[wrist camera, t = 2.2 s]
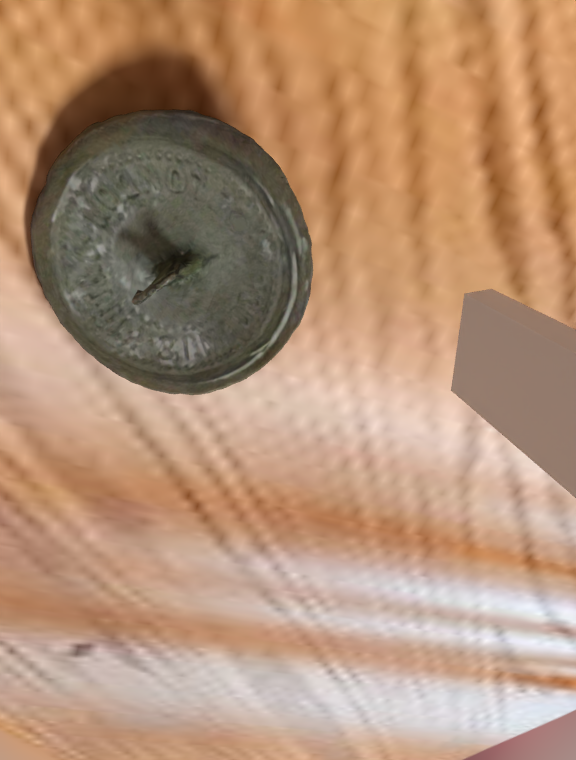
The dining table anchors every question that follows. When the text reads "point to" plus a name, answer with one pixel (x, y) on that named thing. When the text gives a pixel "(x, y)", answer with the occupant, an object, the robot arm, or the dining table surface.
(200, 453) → the dining table surface
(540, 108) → the dining table surface
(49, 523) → the dining table surface
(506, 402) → the robot arm
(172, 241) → the lid
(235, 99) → the dining table surface
